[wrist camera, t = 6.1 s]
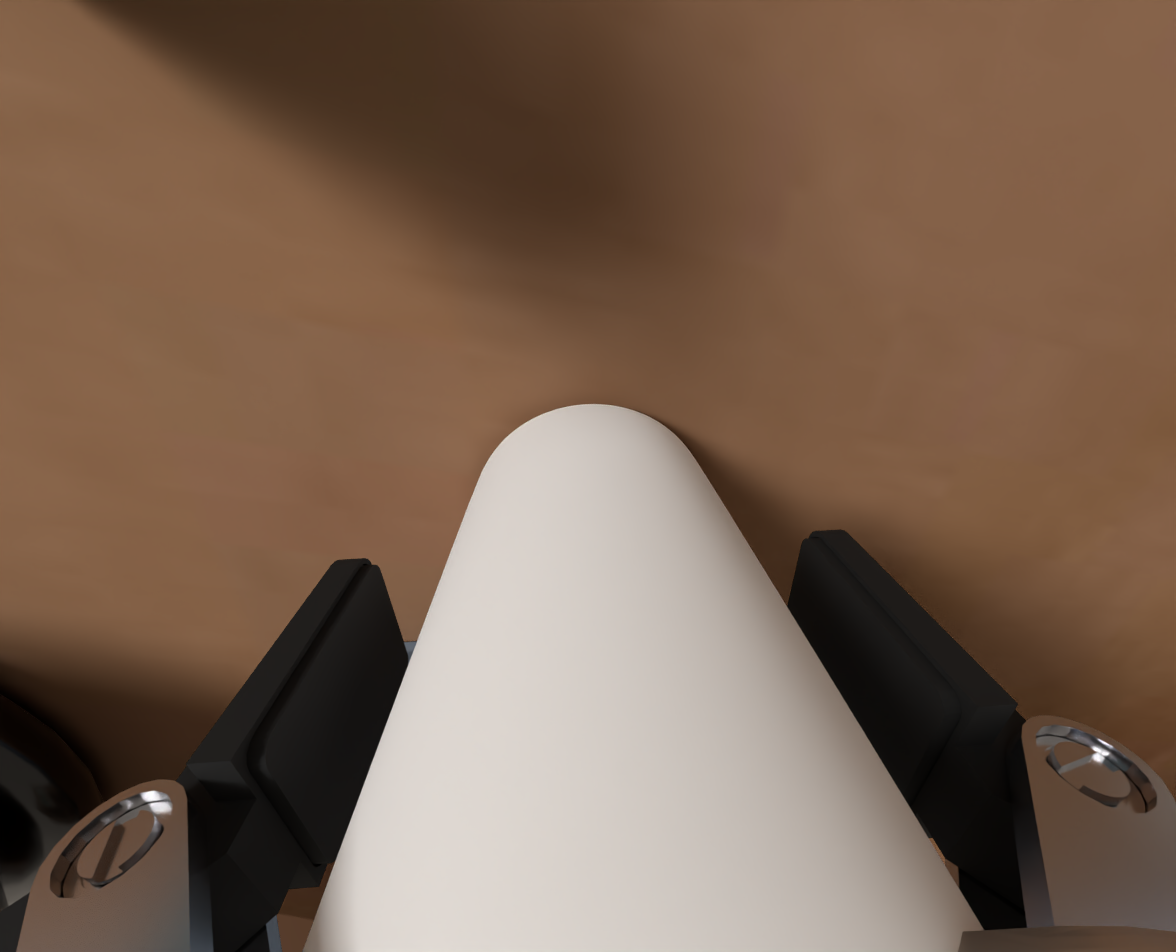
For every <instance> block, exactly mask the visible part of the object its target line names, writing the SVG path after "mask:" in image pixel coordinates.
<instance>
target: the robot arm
mask: <svg viewBox="0 0 1176 952" xmlns="http://www.w3.org/2000/svg"><path fill="white" fill-rule="evenodd" d="M787 608H788V609H789V611H790V612H791V614H792V616H793V617H794V619H795V621H796V622H797V624H798V625H799V627H800V629H801V630H802V632H803V634H804V635H805V637H806V638H807V640H808V642H809V643H810V645H811V647H812V648H813V650H814V651H815V653H816V655H817V656H818V658H819V660H820V661H821V663H822V665H823V666H824V668H825V669H826V671H827V673H828V674H829V676H830V678H831V679H832V681H833V682H834V684H835V686H836V687H837V689H838V691H839V692H840V694H841V696H842V697H843V699H844V700H845V702H846V704H847V705H848V707H849V709H850V710H851V712H852V714H853V715H854V717H855V718H856V720H857V722H858V723H859V725H860V727H861V728H862V730H863V732H864V733H865V735H866V736H867V738H868V740H869V741H870V743H871V745H872V746H873V748H874V750H875V751H876V753H877V754H878V756H879V758H880V759H881V761H882V763H883V764H884V766H885V768H886V769H887V771H888V772H889V774H890V776H891V777H892V779H893V781H894V782H895V784H896V786H897V787H898V789H899V790H900V792H901V794H902V795H903V797H904V799H905V800H906V802H907V804H908V805H909V807H910V809H911V810H912V812H913V813H914V815H915V817H916V818H917V820H918V822H919V823H920V825H921V827H922V828H923V830H924V832H925V833H926V835H927V837H928V838H933V839H934V841H935V842H936V844H937V846H938V847H939V849H940V850H941V852H942V854H943V855H944V857H945V866H946V868H947V870H948V871H949V873H950V875H951V876H952V878H953V880H954V881H955V883H956V885H957V886H958V888H959V889H960V891H961V893H962V894H963V896H964V898H965V899H966V901H967V903H968V904H969V906H970V908H971V909H972V911H973V913H974V914H975V916H976V918H977V919H978V921H979V923H980V924H981V926H982V927H983V929H984V930H981V931H964V932H962V936H961V942H960V946H959V949H958V952H1176V802H1175V800H1174V798H1173V796H1172V795H1171V793H1170V791H1169V790H1168V788H1167V786H1166V785H1165V783H1164V782H1163V780H1162V779H1161V778H1160V777H1159V776H1158V775H1157V774H1156V773H1155V772H1154V771H1153V770H1152V769H1151V768H1150V767H1149V765H1148V764H1147V763H1146V762H1144V761H1143V760H1142V759H1141V758H1139V757H1138V756H1137V755H1135V754H1134V753H1133V752H1132V751H1130V750H1129V749H1128V748H1127V747H1125V746H1124V745H1122V744H1120V743H1119V742H1117V741H1116V740H1114V739H1112V738H1111V737H1109V736H1107V735H1106V734H1104V733H1102V732H1100V731H1098V730H1096V729H1094V728H1091V727H1089V726H1087V725H1085V724H1082V723H1080V722H1077V721H1074V720H1070V719H1067V718H1063V717H1060V716H1049V715H1040V716H1035V717H1031V718H1029V719H1028V720H1027V721H1026V720H1025V719H1024V718H1023V717H1022V716H1021V715H1020V714H1019V713H1018V712H1017V711H1016V710H1015V708H1016V707H1017V705H1018V703H1017V702H1016V701H1015V700H1014V699H1013V698H1012V697H1011V696H1010V695H1009V694H1008V693H1007V692H1006V691H1005V690H1004V689H1003V688H1002V687H1001V686H1000V685H999V684H998V683H997V682H996V681H995V680H994V679H993V678H992V677H991V676H990V675H989V674H988V673H987V672H986V671H985V670H984V669H983V668H982V667H981V666H980V665H979V664H978V663H977V662H976V661H975V660H974V659H973V658H972V657H971V656H970V655H969V654H968V653H967V652H966V651H965V650H964V649H963V648H962V647H961V646H960V645H959V644H958V643H957V642H956V641H955V640H954V639H953V638H952V637H951V636H950V635H949V634H948V633H947V632H946V631H945V630H944V629H943V628H942V627H941V626H940V625H939V624H938V623H937V622H936V621H935V620H934V619H933V618H932V617H931V616H930V615H929V614H928V613H927V612H926V611H925V610H924V609H923V608H922V607H921V606H920V605H919V604H918V603H917V602H916V601H915V600H914V599H913V598H912V597H911V596H910V595H909V594H908V593H907V592H906V591H905V590H904V589H903V588H902V587H901V586H900V585H899V584H898V583H897V582H896V581H895V580H894V579H893V578H892V577H891V576H890V575H889V574H888V573H887V572H886V571H885V570H884V569H883V568H882V567H881V566H880V565H879V564H878V563H877V562H876V561H875V560H874V559H873V558H872V557H871V556H870V555H869V554H868V553H867V552H866V551H865V550H864V549H863V548H862V547H861V546H860V545H859V544H858V543H857V542H856V541H855V540H854V539H853V538H852V537H851V536H850V535H849V534H848V533H847V532H845V531H844V530H826V531H815V532H812V533H811V535H810V536H809V538H808V539H804V540H803V542H802V545H801V549H800V553H799V558H798V562H797V566H796V571H795V575H794V579H793V584H792V588H791V592H790V597H789V601H788V605H787ZM407 667H408V653H407V650H406V647H405V644H404V641H403V638H402V635H401V632H400V629H399V626H398V623H397V620H396V616H395V613H394V610H393V607H392V604H391V601H390V598H389V595H388V592H387V589H386V586H385V583H384V580H383V576H382V573H381V570H380V568H379V567H378V566H377V565H372V564H371V562H370V561H369V560H368V559H365V558H362V559H345V560H337V561H335V562H334V563H333V564H332V565H331V566H330V568H329V569H328V570H327V572H326V573H325V574H324V576H323V577H322V579H321V580H320V581H319V583H318V584H317V585H316V587H315V588H314V589H313V591H312V592H311V594H310V595H309V596H308V598H307V599H306V600H305V602H304V603H303V605H302V606H301V607H300V609H299V610H298V611H297V613H296V614H295V615H294V617H293V618H292V620H291V621H290V622H289V624H288V625H287V626H286V628H285V629H284V631H283V632H282V633H281V635H280V636H279V637H278V639H277V640H276V641H275V643H274V644H273V646H272V647H271V648H270V650H269V651H268V652H267V654H266V655H265V657H264V658H263V659H262V661H261V662H260V663H259V665H258V666H257V667H256V669H255V670H254V672H253V673H252V674H251V676H250V677H249V678H248V680H247V681H246V682H245V684H244V685H243V687H242V688H241V689H240V691H239V692H238V693H237V695H236V696H235V698H234V699H233V700H232V702H231V703H230V704H229V706H228V707H227V708H226V710H225V711H224V713H223V714H222V715H221V717H220V718H219V719H218V721H217V722H216V724H215V725H214V726H213V728H212V729H211V730H210V732H209V733H208V734H207V736H206V737H205V739H204V740H203V741H202V743H201V744H200V745H199V747H198V748H197V750H196V751H195V752H194V754H193V755H192V756H191V758H190V759H189V760H188V762H187V763H186V765H187V766H186V768H185V769H184V771H183V772H182V773H181V775H180V776H179V777H178V779H177V780H176V781H174V780H164V779H158V780H154V781H149V782H145V783H141V784H139V785H136V786H134V787H132V788H129V789H127V790H125V791H123V792H120V793H119V794H117V795H115V796H114V797H112V798H111V799H109V800H107V801H106V802H104V803H103V804H101V805H99V806H98V807H96V808H95V809H94V810H93V811H91V812H90V813H89V814H88V815H87V816H85V817H84V818H83V819H82V820H80V821H79V822H78V823H77V824H75V825H74V826H73V827H72V828H71V829H70V831H69V832H68V833H67V834H66V835H65V836H64V837H63V838H62V839H61V840H60V841H59V842H58V843H57V844H56V845H55V846H54V848H53V849H52V851H51V852H50V853H49V855H48V856H47V858H46V859H45V860H44V862H43V863H42V865H41V866H40V868H39V870H38V872H37V875H36V877H35V880H34V882H33V884H32V887H31V890H30V893H28V894H27V895H25V896H23V897H22V898H20V899H19V900H17V901H16V902H14V903H13V904H11V905H10V906H8V907H7V908H5V909H4V910H2V911H1V912H0V952H282V948H281V942H280V935H279V929H278V922H277V914H278V912H279V910H280V908H281V905H282V903H283V901H284V898H285V896H286V894H287V891H288V889H297V888H309V887H319V885H320V882H321V880H322V877H323V874H324V872H325V869H326V867H327V864H328V863H333V862H334V861H335V860H336V858H337V856H338V853H339V850H340V847H341V845H342V842H343V839H344V837H345V834H346V831H347V829H348V826H349V823H350V820H351V818H352V815H353V812H354V810H355V807H356V804H357V802H358V799H359V796H360V794H361V791H362V788H363V785H364V783H365V780H366V777H367V775H368V772H369V769H370V767H371V764H372V761H373V758H374V756H375V753H376V750H377V748H378V745H379V742H380V740H381V737H382V734H383V731H384V729H385V726H386V723H387V721H388V718H389V715H390V713H391V710H392V707H393V705H394V702H395V699H396V697H397V694H398V691H399V689H400V686H401V683H402V680H403V678H404V675H405V672H406V670H407Z"/></svg>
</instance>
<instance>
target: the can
mask: <svg viewBox="0 0 1176 952" xmlns="http://www.w3.org/2000/svg"><path fill="white" fill-rule="evenodd" d="M981 930H984V929H983V927H982V926H981V924H980V923H979V921H978V919H977V918H976V916H975V914H974V913H973V911H972V909H971V908H970V906H969V904H968V903H967V901H966V899H965V898H964V896H963V894H962V893H961V891H960V889H959V888H958V886H957V885H956V883H955V881H954V880H953V878H952V876H951V875H950V873H949V871H948V870H947V868H946V866H945V865H944V863H943V861H942V860H941V858H940V856H939V855H938V853H937V851H936V850H935V848H934V847H933V845H932V843H931V842H930V840H929V838H928V837H927V835H926V833H925V832H924V830H923V828H922V827H921V825H920V823H919V822H918V820H917V818H916V817H915V815H914V813H913V812H912V810H911V809H910V807H909V805H908V804H907V802H906V800H905V799H904V797H903V795H902V794H901V792H900V790H899V789H898V787H897V786H896V784H895V782H894V781H893V779H892V777H891V776H890V774H889V772H888V771H887V769H886V768H885V766H884V764H883V763H882V761H881V759H880V758H879V756H878V754H877V753H876V751H875V750H874V748H873V746H872V745H871V743H870V741H869V740H868V738H867V736H866V735H865V733H864V732H863V730H862V728H861V727H860V725H859V723H858V722H857V720H856V718H855V717H854V715H853V714H852V712H851V710H850V709H849V707H848V705H847V704H846V702H845V700H844V699H843V697H842V696H841V694H840V692H839V691H838V689H837V687H836V686H835V684H834V682H833V681H832V679H831V678H830V676H829V674H828V673H827V671H826V669H825V668H824V666H823V665H822V663H821V661H820V660H819V658H818V656H817V655H816V653H815V651H814V650H813V648H812V647H811V645H810V643H809V642H808V640H807V638H806V637H805V635H804V634H803V632H802V630H801V629H800V627H799V625H798V624H797V622H796V621H795V619H794V617H793V616H792V614H791V612H790V611H789V609H788V608H787V606H786V604H785V603H784V601H783V599H782V598H781V596H780V595H779V593H778V591H777V590H776V588H775V586H774V585H773V583H772V582H771V580H770V578H769V577H768V575H767V573H766V572H765V570H764V569H763V567H762V565H761V564H760V562H759V560H758V559H757V557H756V556H755V554H754V552H753V551H752V549H751V548H750V546H749V544H748V543H747V541H746V539H745V538H744V536H743V535H742V533H741V531H740V530H739V528H738V527H737V525H736V523H735V522H734V520H733V518H732V517H731V515H730V514H729V512H728V510H727V509H726V507H725V506H724V504H723V502H722V501H721V499H720V498H719V496H718V494H717V493H716V491H715V490H714V488H713V486H712V485H711V483H710V482H709V480H708V478H707V477H706V475H705V474H704V472H703V471H702V469H701V467H700V466H699V464H698V463H697V461H696V460H695V458H694V457H693V455H692V454H691V452H690V451H689V450H688V448H687V447H686V446H685V445H684V443H683V442H682V441H681V440H680V439H679V438H678V437H677V436H676V435H675V434H674V433H673V432H672V431H670V430H669V429H668V428H667V427H665V426H664V425H662V424H661V423H659V422H658V421H656V420H654V419H652V418H651V417H649V416H646V415H644V414H642V413H639V412H637V411H634V410H631V409H627V408H623V407H618V406H613V405H603V404H583V405H574V406H568V407H563V408H559V409H556V410H553V411H550V412H547V413H544V414H542V415H539V416H537V417H535V418H533V419H531V420H530V421H528V422H526V423H524V424H523V425H521V426H520V427H518V428H517V429H516V430H514V431H513V432H512V433H511V434H510V435H508V436H507V437H506V438H505V439H504V440H503V441H502V442H501V443H500V445H499V446H498V447H497V448H496V449H495V451H494V452H493V453H492V455H491V456H490V458H489V460H488V461H487V463H486V465H485V467H484V469H483V471H482V473H481V475H480V478H479V480H478V482H477V485H476V487H475V490H474V492H473V495H472V497H471V500H470V503H469V505H468V508H467V510H466V513H465V516H464V518H463V521H462V523H461V526H460V529H459V531H458V534H457V537H456V539H455V542H454V544H453V547H452V550H451V552H450V555H449V558H448V560H447V563H446V566H445V568H444V571H443V574H442V576H441V579H440V582H439V584H438V587H437V590H436V592H435V595H434V598H433V600H432V603H431V606H430V608H429V611H428V614H427V616H426V619H425V622H424V624H423V627H422V630H421V632H420V635H419V638H418V640H417V643H416V646H415V648H414V651H413V654H412V656H411V659H410V662H409V664H408V667H407V670H406V672H405V675H404V678H403V680H402V683H401V686H400V689H399V691H398V694H397V697H396V699H395V702H394V705H393V707H392V710H391V713H390V715H389V718H388V721H387V723H386V726H385V729H384V731H383V734H382V737H381V740H380V742H379V745H378V748H377V750H376V753H375V756H374V758H373V761H372V764H371V767H370V769H369V772H368V775H367V777H366V780H365V783H364V785H363V788H362V791H361V794H360V796H359V799H358V802H357V804H356V807H355V810H354V812H353V815H352V818H351V820H350V823H349V826H348V829H347V831H346V834H345V837H344V839H343V842H342V845H341V847H340V850H339V853H338V856H337V858H336V861H335V864H334V866H333V869H332V872H331V875H330V877H329V880H328V883H327V886H326V888H325V891H324V894H323V897H322V899H321V902H320V905H319V907H318V910H317V913H316V916H315V918H314V921H313V924H312V927H311V929H310V932H309V935H308V938H307V940H306V943H305V946H304V948H303V951H302V952H958V949H959V946H960V942H961V936H962V932H964V931H981Z"/></svg>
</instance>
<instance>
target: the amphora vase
mask: <svg viewBox="0 0 1176 952" xmlns="http://www.w3.org/2000/svg"><path fill="white" fill-rule="evenodd" d="M101 804H103V798H102V796H101V794H100V792H99V789H98V787H97V785H96V783H95V781H94V778H93V776H92V774H91V772H90V770H89V769H88V767H87V766H86V765H85V764H84V763H83V761H82V760H81V759H80V758H79V757H78V756H77V755H76V754H75V753H74V752H73V751H72V750H71V749H70V747H69V746H68V745H67V744H66V743H65V742H64V741H63V740H62V739H61V738H60V737H59V736H58V735H57V734H56V733H55V732H54V730H52V729H51V728H50V727H48V726H47V725H45V724H44V723H42V722H41V721H39V720H38V719H37V718H35V717H34V716H32V715H31V714H29V713H28V712H27V711H25V710H24V709H22V708H21V707H19V706H18V705H16V704H15V703H14V702H12V701H11V700H9V699H8V698H6V697H4V696H2V695H0V912H1V911H2V910H4V909H5V908H7V907H8V906H10V905H11V904H13V903H14V902H16V901H17V900H19V899H20V898H22V897H23V896H25V895H27V894H28V893H30V890H31V887H32V884H33V882H34V880H35V877H36V875H37V872H38V870H39V868H40V866H41V865H42V863H43V862H44V860H45V859H46V858H47V856H48V855H49V853H50V852H51V851H52V849H53V848H54V846H55V845H56V844H57V843H58V842H59V841H60V840H61V839H62V838H63V837H64V836H65V835H66V834H67V833H68V832H69V831H70V829H71V828H72V827H73V826H74V825H75V824H77V823H78V822H79V821H80V820H82V819H83V818H84V817H85V816H87V815H88V814H89V813H90V812H91V811H93V810H94V809H95V808H96V807H98V806H99V805H101Z"/></svg>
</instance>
